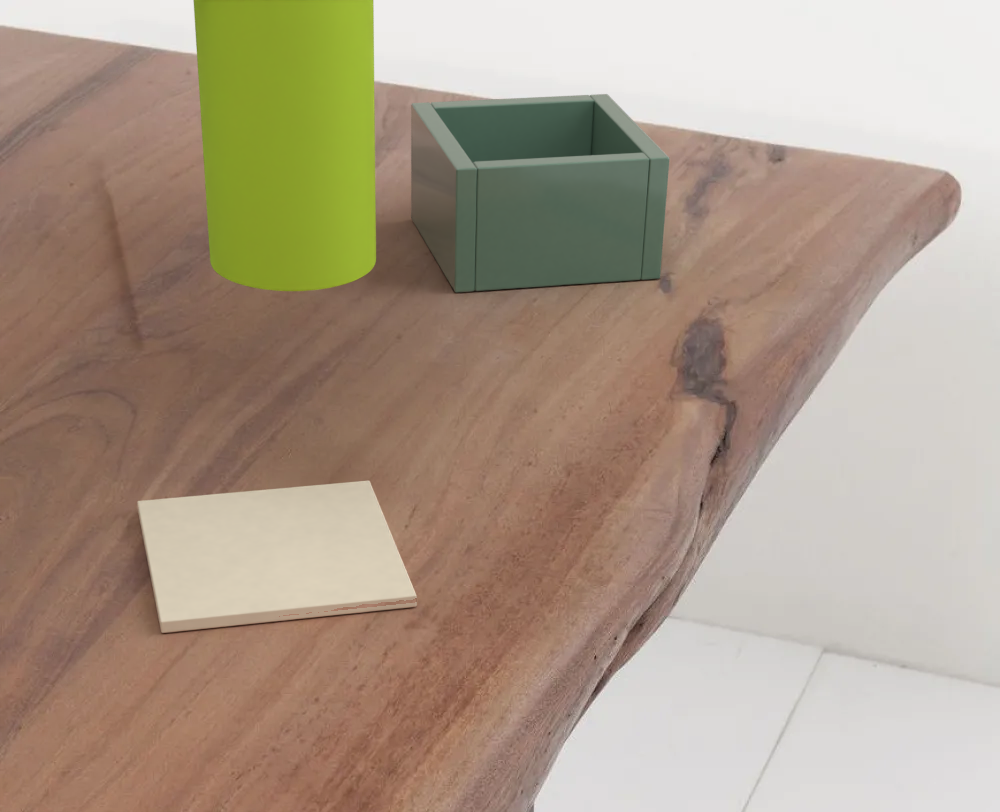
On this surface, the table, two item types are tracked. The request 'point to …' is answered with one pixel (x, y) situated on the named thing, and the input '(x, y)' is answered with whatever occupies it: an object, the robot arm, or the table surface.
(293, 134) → the soap dispenser
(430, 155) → the holder
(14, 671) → the table surface
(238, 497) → the mat
